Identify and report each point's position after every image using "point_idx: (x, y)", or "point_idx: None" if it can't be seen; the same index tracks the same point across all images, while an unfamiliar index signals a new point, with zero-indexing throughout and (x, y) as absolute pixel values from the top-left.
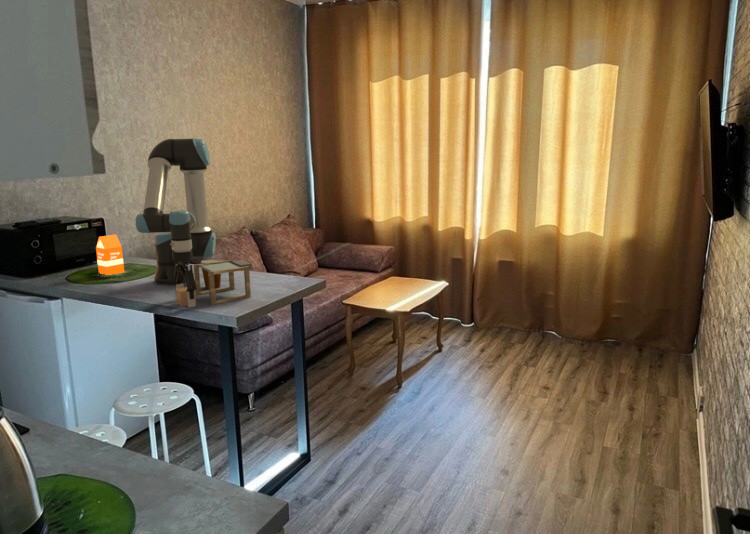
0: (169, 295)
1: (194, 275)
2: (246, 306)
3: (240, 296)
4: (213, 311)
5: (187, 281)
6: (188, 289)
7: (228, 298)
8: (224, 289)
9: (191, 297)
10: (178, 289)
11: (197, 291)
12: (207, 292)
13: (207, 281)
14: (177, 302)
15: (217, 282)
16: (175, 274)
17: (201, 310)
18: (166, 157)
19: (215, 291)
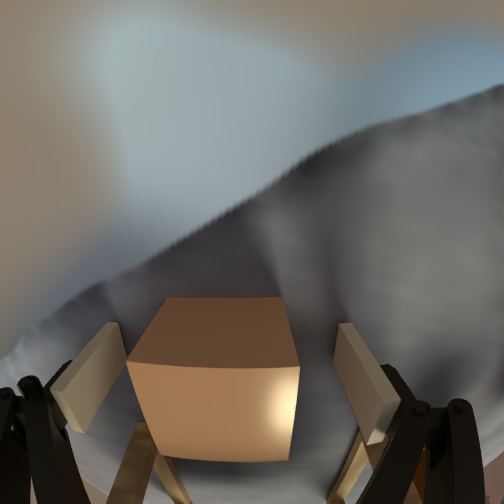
0: (472, 300)
1: (418, 496)
2: (73, 453)
3: (174, 496)
4: (32, 369)
5: (33, 463)
6: (23, 396)
7: (163, 476)
8: (335, 490)
9: (63, 371)
10: (253, 385)
11: None
12: (352, 455)
13: (422, 472)
14: (257, 302)
15: None
16: (453, 475)
17: (52, 346)
18: None
19: (343, 472)
